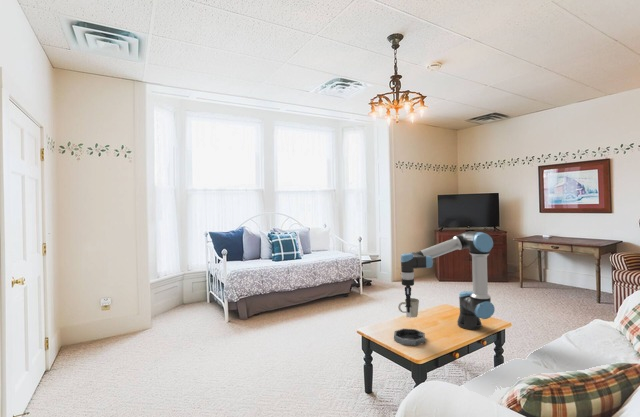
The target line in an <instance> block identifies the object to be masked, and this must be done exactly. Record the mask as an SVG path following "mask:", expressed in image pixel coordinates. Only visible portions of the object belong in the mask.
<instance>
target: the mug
mask: <svg viewBox="0 0 640 417" xmlns="http://www.w3.org/2000/svg"><path fill="white" fill-rule="evenodd" d="M410 301H411V302H410V306H411V318H417V317H418V315H419V314H418V313H419V305H420V304H419V302H420V300H419V299H418V298H413V297H410ZM402 305H406V298H405V299H404V301H402V302H400V303H399V304H398V305H397V306H398V311H399V312H400V313H403V314H406V311H404V310H402V308H401V306H402Z"/></svg>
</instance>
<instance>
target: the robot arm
mask: <svg viewBox="0 0 640 417" xmlns="http://www.w3.org/2000/svg"><path fill="white" fill-rule="evenodd" d="M492 248H494V241H493V237H491V235H489V234H488V233H485V232H483V231H472V230H469V231H465V232H462V233H460V234H457V235H455V236H453V237H452V238H451V239H447V240H446V241H443V242H440V243H437V244H435V245H432V246H429V247H427V248H424V249H421V250H419V251H415V252H413V251H412V252H410V253H407V252H404V253H402V254H400V255H401V256H400V268H401V269H400V270H401V272H400V276H401V285H402V286H405V287H404V294H405V299H406V304H405V306H404V307H405V310H406V313H405V315H406V318H410V319H411V318H412V317H411V306H410V302H411V301H410V298H411V296H412V287H413V286H414V284H415V279H414V278H415V270H417V269H430V268H432V267H433V266H434V260H433V259H434V258H439V257H440V256H443V255H445V254H448V253H451V252H453V251H456V250H459V251H461V250H464V249H468V250H469V255H471V260H472V261H471V263H472V264H471V270H472V291H471V290H470V291H469V290H467V291H465V290H463V291H460V292H459V297H458V298H459V299H458V300H459V315H458V318H457V321H456V322H457V326H458V327H459V328H462V329H465V330H472V331H474V330H475V331H476V330H481V329H482V328H483V325H482V324H483V323H482V321H481V319H482V320H488V319H490V318H491V317H492V316H493V315H494V313H495V306H494V304H493V303H492V302H491V301H492V300H491V295H490V294H489V290H488V289H489V287H488V285H489V284H488V281H489V280H488V257H489V255H490V252H491V250H492ZM414 269H415V270H414ZM411 286H412V287H411Z"/></svg>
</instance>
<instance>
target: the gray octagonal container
mask: <svg viewBox="0 0 640 417" xmlns="http://www.w3.org/2000/svg"><path fill="white" fill-rule="evenodd" d="M393 340H394V342H396V343H397V344H401V345H403V346H414V347H416V346H417V347H418V346H420V345H422V344H423V345H424V344H425V343H426V334H425V332H423V331H420V330H418V329H416V328H400V329H396V330H394V333H393Z"/></svg>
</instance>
